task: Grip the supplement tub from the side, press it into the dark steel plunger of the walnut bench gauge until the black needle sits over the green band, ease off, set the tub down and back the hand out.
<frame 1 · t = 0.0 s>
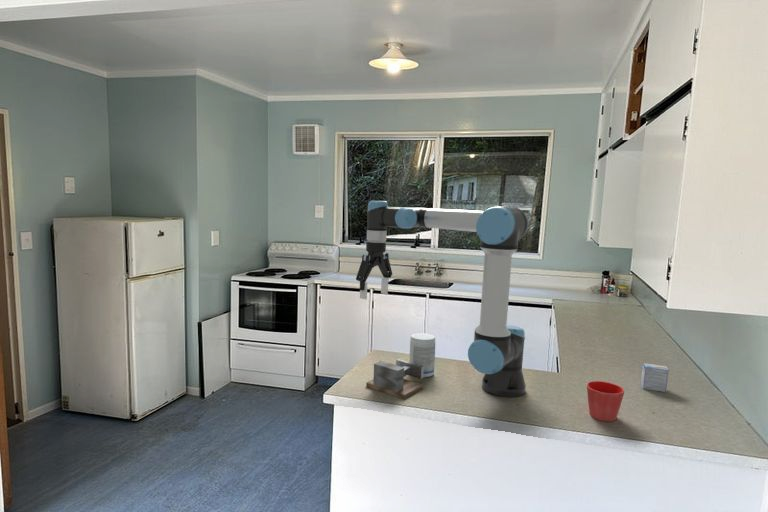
hand: (374, 296, 186), 28 cm above the counter, tool pointing down, fingers open, 13 cm apart
flower pot: (602, 416, 153), on the counter
gauge bench: (396, 386, 169), on the counter
medicine box: (653, 389, 178), on the counter
supplement tub: (421, 374, 183), on the counter
gauge plunger: (405, 370, 174), point 4 cm above the counter, slide at 0.0 cm
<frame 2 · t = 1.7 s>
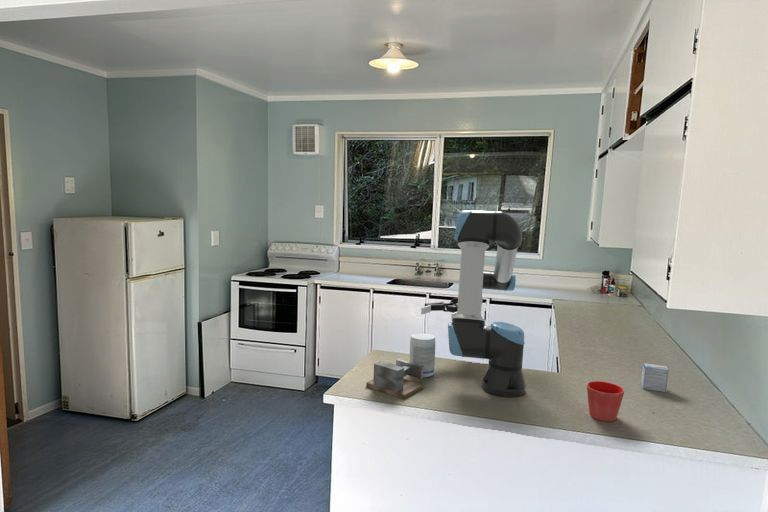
hand: (436, 314, 188), 21 cm above the counter, tool horizontal, fingers open, 13 cm apart
nothing on the counter moved.
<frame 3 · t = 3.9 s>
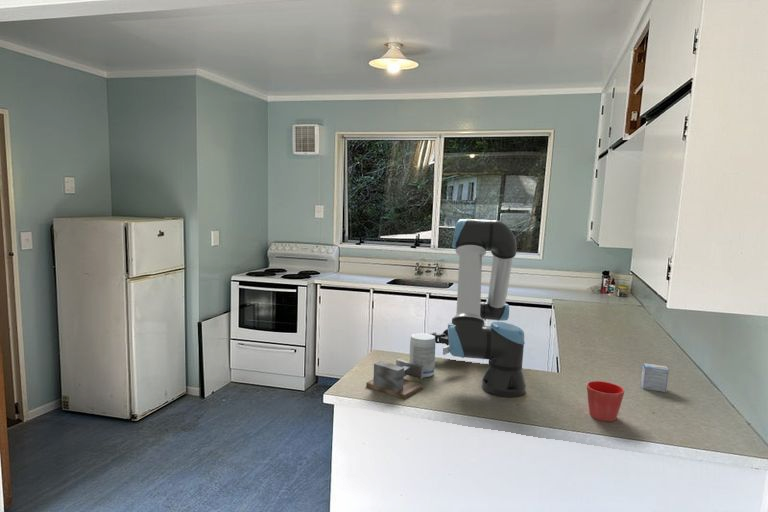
hand: (428, 347, 187), 9 cm above the counter, tool horizontal, fingers open, 13 cm apart
nothing on the counter moved.
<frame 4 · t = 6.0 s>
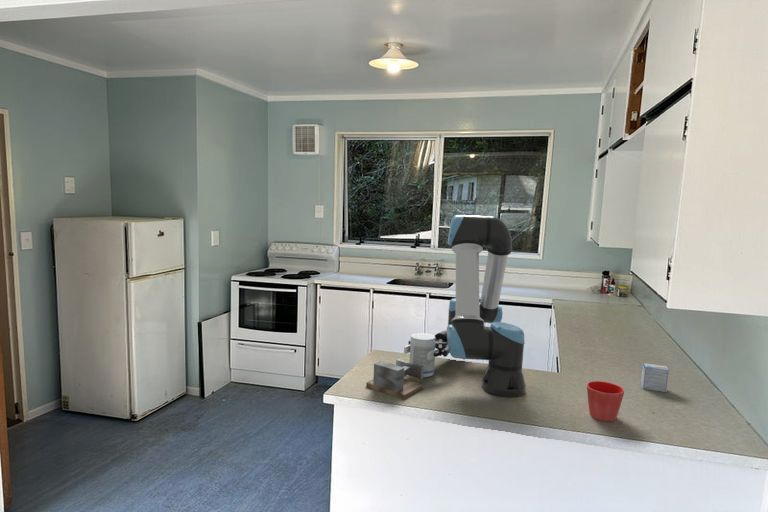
hand: (416, 353, 179), 9 cm above the counter, tool horizontal, fingers closed on supplement tub, 9 cm apart
supplement tub: (421, 374, 183), on the counter, touching gripper
everything else where it was.
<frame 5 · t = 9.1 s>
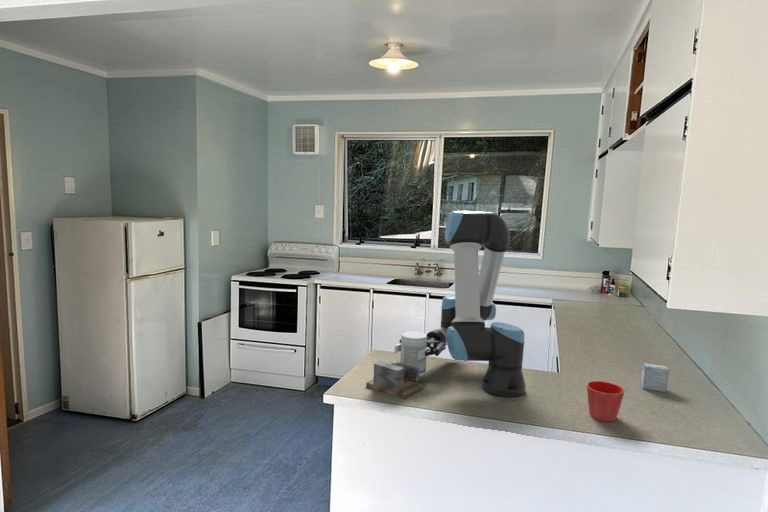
hand: (407, 352, 173), 11 cm above the counter, tool horizontal, fingers closed on supplement tub, 9 cm apart
supplement tub: (412, 373, 178), point 2 cm above the counter, touching gauge plunger, gripper
gauge plunger: (400, 372, 171), point 4 cm above the counter, slide at 3.1 cm, touching supplement tub
everything else where it was.
when the fingers open (10 cm above the counter, at t = 11.3 s): supplement tub stays where it is, on the counter.
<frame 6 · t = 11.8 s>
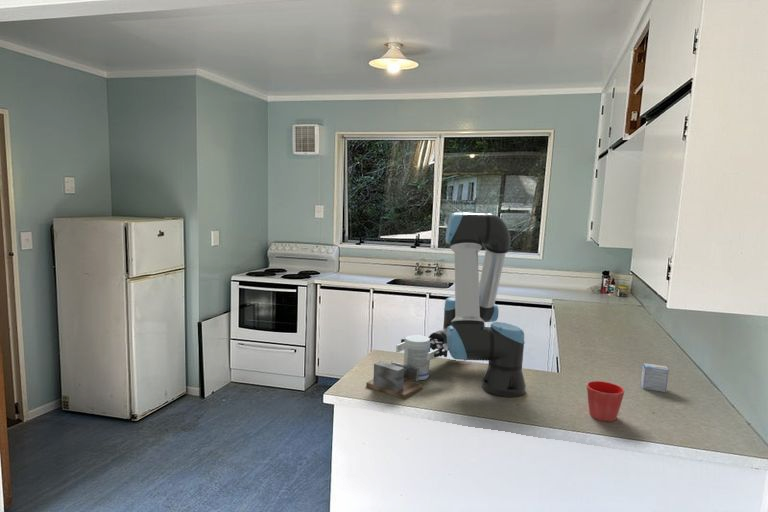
hand: (412, 352, 176), 10 cm above the counter, tool horizontal, fingers open, 13 cm apart
supplement tub: (415, 376, 180), on the counter
gauge plunger: (400, 372, 171), point 4 cm above the counter, slide at 3.2 cm
everything else where it was.
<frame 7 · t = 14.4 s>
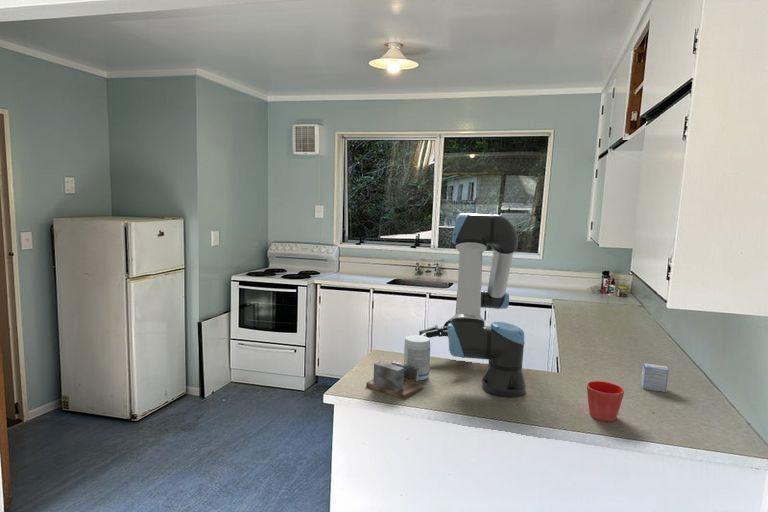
hand: (433, 344, 187), 10 cm above the counter, tool horizontal, fingers open, 13 cm apart
nothing on the counter moved.
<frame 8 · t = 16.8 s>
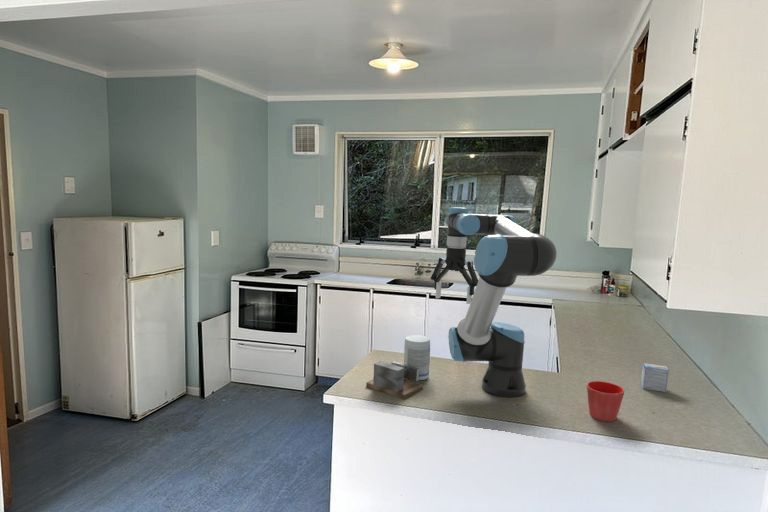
hand: (453, 300, 190), 27 cm above the counter, tool pointing down, fingers open, 13 cm apart
nothing on the counter moved.
at the end: gauge plunger slide at 3.2 cm; supplement tub tilted 0°; the gripper is holding nothing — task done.
